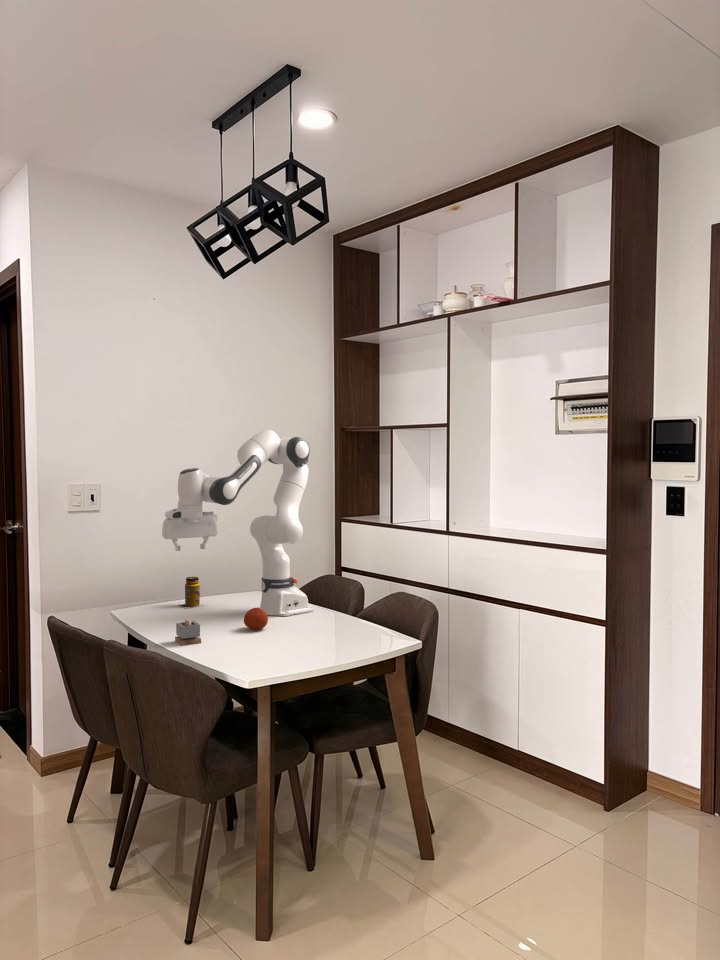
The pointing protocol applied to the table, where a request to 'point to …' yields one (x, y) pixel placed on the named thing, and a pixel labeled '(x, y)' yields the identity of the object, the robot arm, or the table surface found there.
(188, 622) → the post block
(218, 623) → the table surface
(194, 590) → the condiment
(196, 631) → the grey square frame
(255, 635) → the table surface
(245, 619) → the fruit
